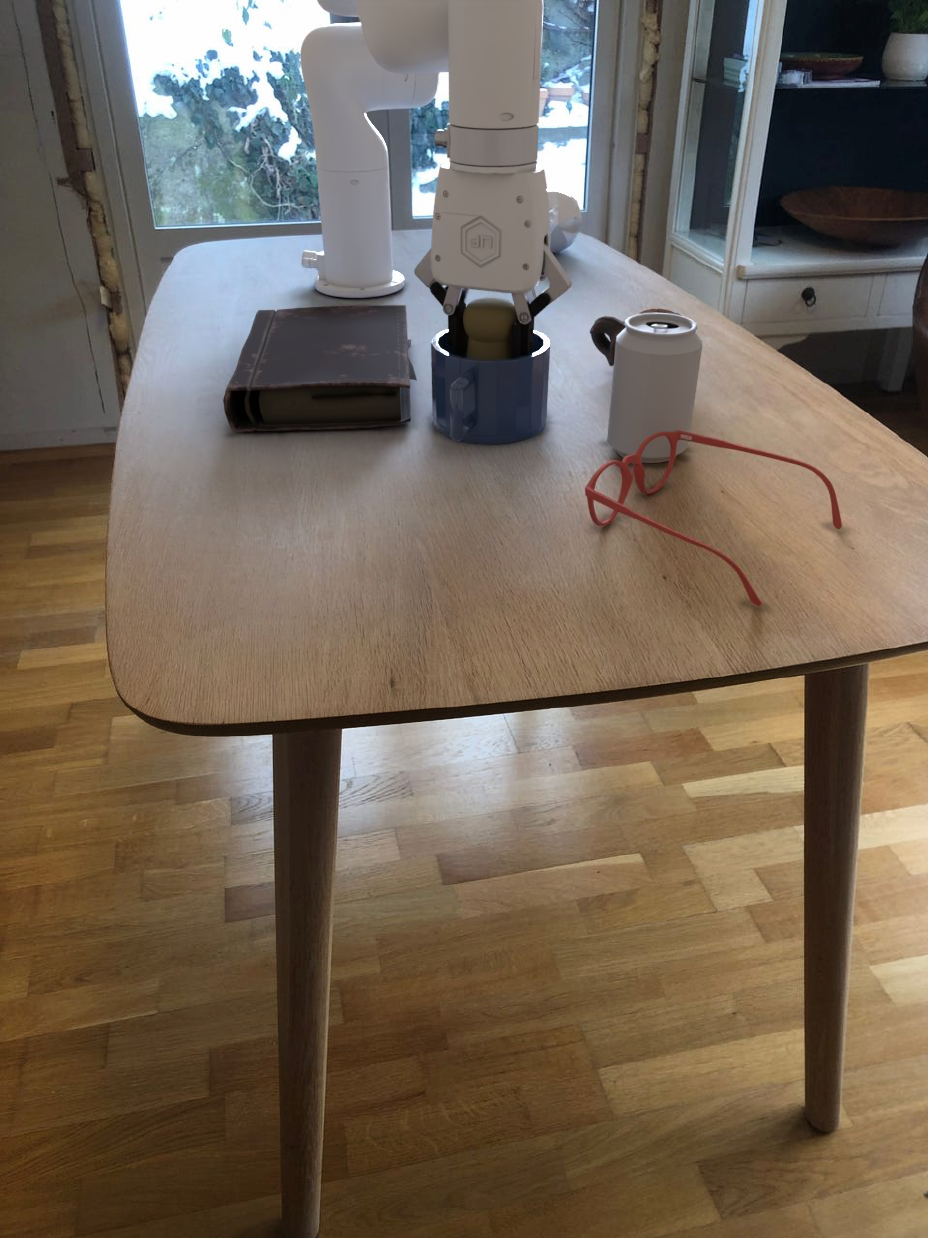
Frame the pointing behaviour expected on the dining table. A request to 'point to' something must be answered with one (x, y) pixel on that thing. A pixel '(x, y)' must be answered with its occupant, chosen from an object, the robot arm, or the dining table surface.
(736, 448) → the red eyeglasses
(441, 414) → the blue coffee cup
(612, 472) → the dining table surface
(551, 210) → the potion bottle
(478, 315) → the cork
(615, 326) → the pottery mug
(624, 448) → the can
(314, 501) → the dining table surface
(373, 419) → the diary
